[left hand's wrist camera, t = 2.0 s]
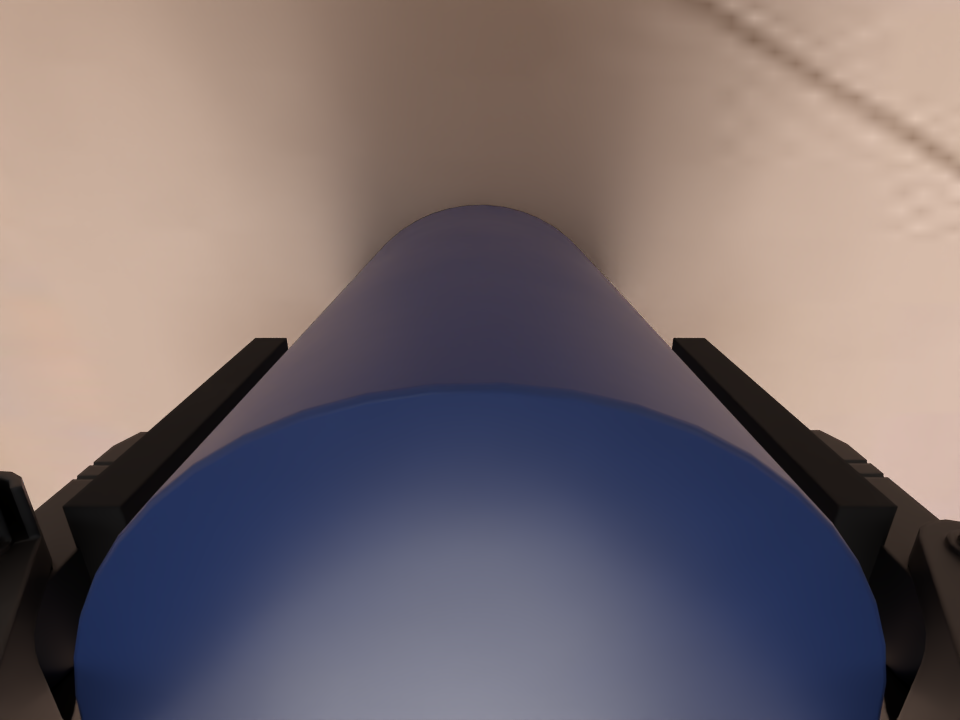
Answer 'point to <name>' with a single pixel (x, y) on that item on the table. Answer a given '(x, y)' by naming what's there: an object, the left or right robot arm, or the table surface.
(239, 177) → the table surface
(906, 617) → the left robot arm
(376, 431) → the canister
